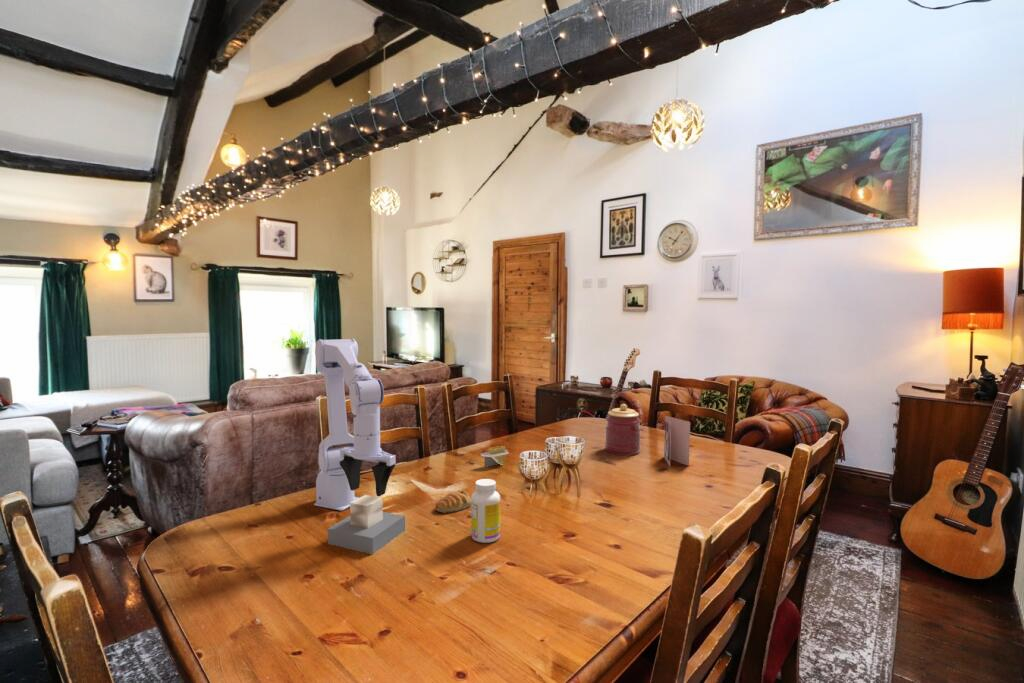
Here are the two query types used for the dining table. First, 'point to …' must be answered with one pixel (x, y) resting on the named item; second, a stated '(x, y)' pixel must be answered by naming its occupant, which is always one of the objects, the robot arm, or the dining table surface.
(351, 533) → the gray panel
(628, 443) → the canister
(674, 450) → the greeting card
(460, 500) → the pastry
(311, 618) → the dining table surface
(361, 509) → the cream block
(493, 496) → the supplement bottle
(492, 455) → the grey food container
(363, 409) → the robot arm
